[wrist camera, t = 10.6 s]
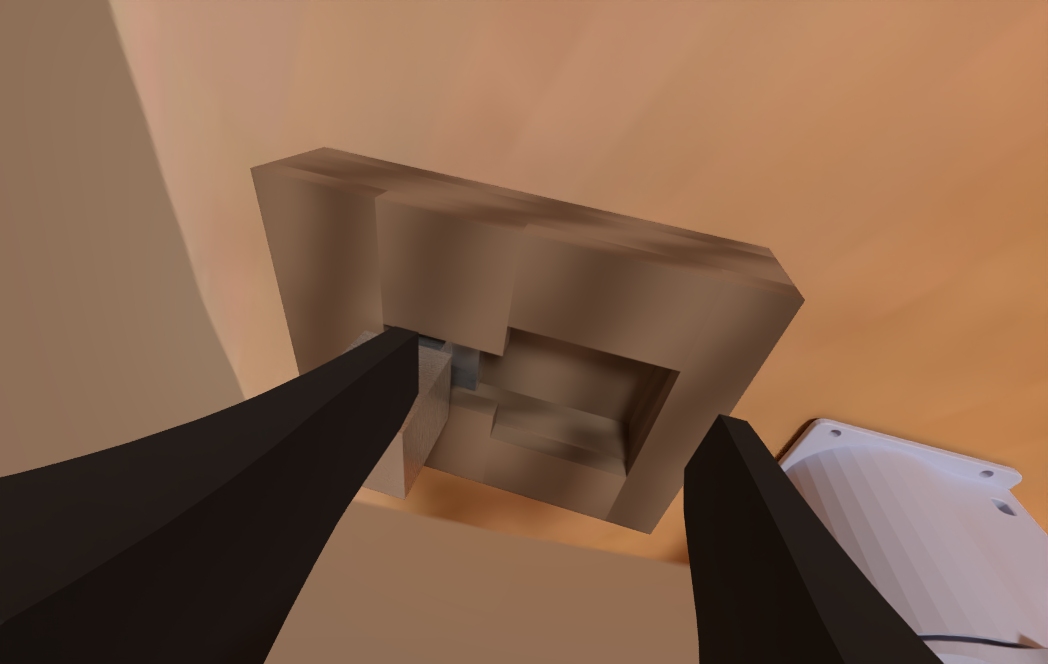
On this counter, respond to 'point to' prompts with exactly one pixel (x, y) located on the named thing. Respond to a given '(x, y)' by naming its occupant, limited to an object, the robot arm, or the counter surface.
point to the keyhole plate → (531, 321)
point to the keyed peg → (424, 411)
